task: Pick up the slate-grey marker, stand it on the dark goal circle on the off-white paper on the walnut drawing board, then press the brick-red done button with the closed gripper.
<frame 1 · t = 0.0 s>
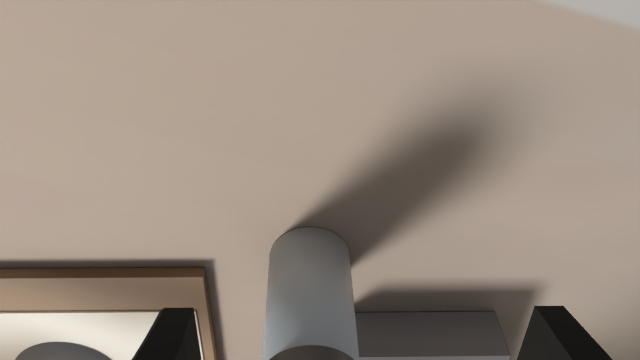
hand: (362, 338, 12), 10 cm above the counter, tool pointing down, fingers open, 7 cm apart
marker: (309, 257, 25), on the counter
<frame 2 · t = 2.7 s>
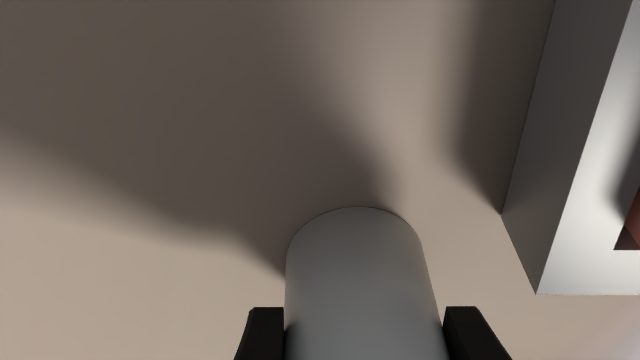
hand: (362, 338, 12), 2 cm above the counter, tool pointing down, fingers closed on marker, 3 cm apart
marker: (354, 260, 14), on the counter, touching gripper
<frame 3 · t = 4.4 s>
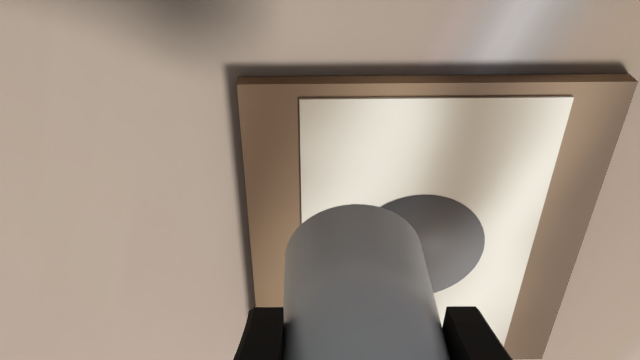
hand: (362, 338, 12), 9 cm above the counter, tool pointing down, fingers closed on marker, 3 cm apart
marker: (353, 258, 14), point 7 cm above the counter, touching gripper
drawing board: (414, 236, 23), on the counter
when the fingers open (4 cm above the counter, at t = 6.1 s): marker stays where it is, resting on drawing board.
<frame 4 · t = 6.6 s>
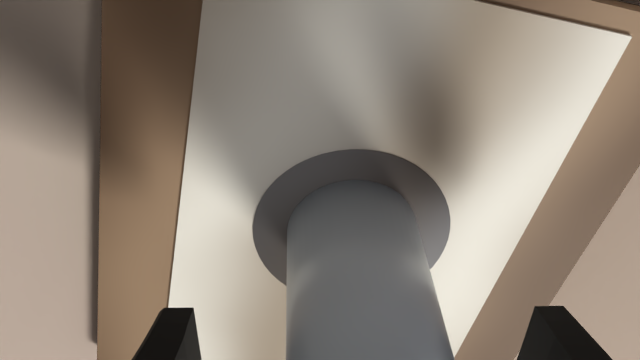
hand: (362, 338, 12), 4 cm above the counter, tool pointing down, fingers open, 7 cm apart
marker: (351, 232, 15), point 1 cm above the counter, touching drawing board
drawing board: (349, 216, 16), on the counter
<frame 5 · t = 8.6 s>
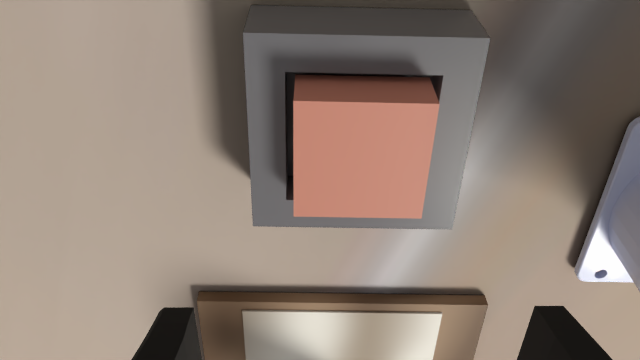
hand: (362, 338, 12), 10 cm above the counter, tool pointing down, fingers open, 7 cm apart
done button: (360, 148, 19), point 3 cm above the counter, slide at 0.0 cm
button housing: (355, 106, 21), on the counter
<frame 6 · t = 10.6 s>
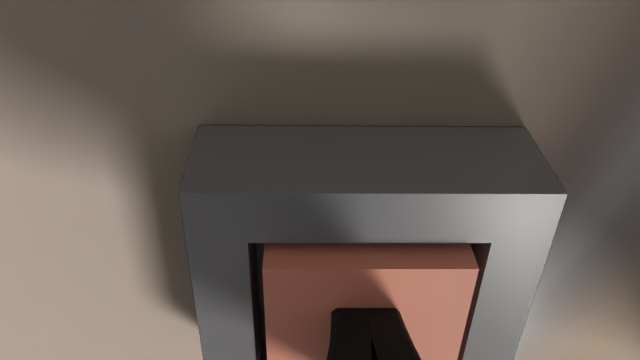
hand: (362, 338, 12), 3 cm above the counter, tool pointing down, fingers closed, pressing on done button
done button: (361, 309, 13), point 2 cm above the counter, slide at 0.9 cm, touching gripper
button housing: (354, 249, 15), on the counter
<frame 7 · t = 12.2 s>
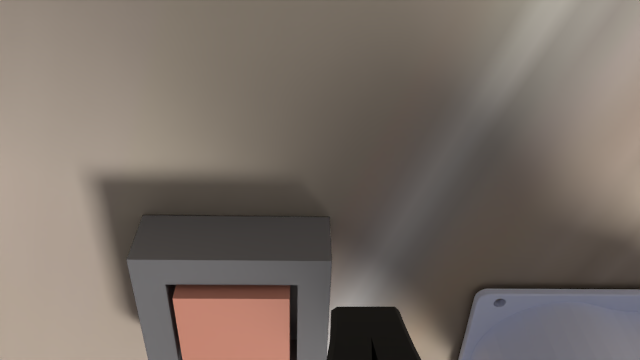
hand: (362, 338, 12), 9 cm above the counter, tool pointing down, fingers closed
done button: (236, 319, 23), point 2 cm above the counter, slide at 0.9 cm
button housing: (241, 283, 24), on the counter
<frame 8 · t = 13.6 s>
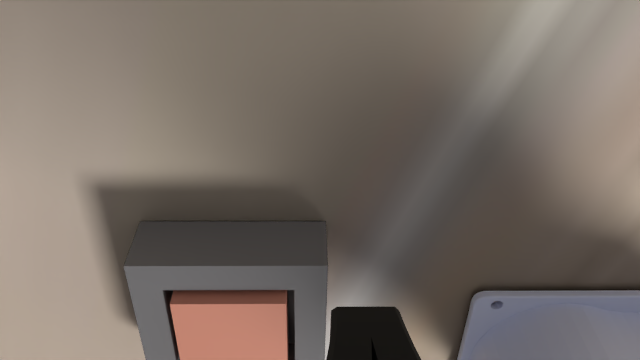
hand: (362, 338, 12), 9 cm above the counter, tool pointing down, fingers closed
done button: (234, 324, 23), point 2 cm above the counter, slide at 0.9 cm
button housing: (238, 287, 25), on the counter
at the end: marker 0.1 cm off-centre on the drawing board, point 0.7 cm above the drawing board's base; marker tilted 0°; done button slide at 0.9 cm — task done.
